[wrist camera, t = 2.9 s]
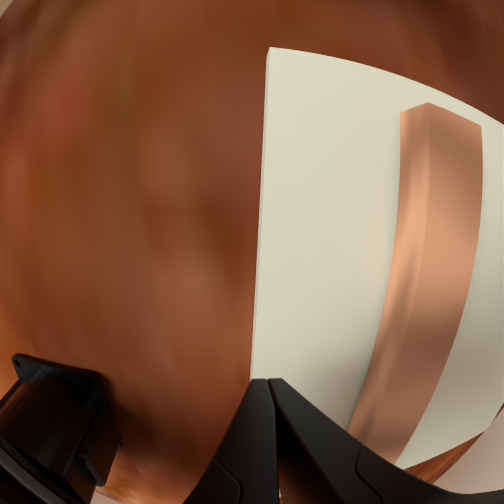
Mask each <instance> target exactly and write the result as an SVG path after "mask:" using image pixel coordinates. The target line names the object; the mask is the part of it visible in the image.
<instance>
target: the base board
mask: <svg viewBox="0 0 504 504" xmlns="http://www.w3.org/2000/svg"><path fill="white" fill-rule="evenodd" d="M427 102H429V103H432V104H434V105H437V106H439V107H442V108H444V109H446V110H449V111H451V112H453V113H455V114H458V115H460V116H462V117H464V118H466V119H468V120H471V121H473V122H475V123H477V124H479V125H481V130H482V148H483V187H482V205H481V217H480V227H479V235H478V243H477V249H476V256H475V261H474V267H473V272H472V277H471V282H470V286H469V291H468V295H467V299H466V303H465V307H464V310H463V314H462V317H461V321H460V324H459V327H458V331H457V334H456V337H455V340H454V343H453V346H452V349H451V351H450V354H449V357H448V360H447V362H446V365H445V367H444V370H443V372H442V375H441V377H440V380H439V382H438V384H437V387H436V389H435V391H434V393H433V396H432V398H431V400H430V402H429V404H428V406H427V408H426V410H425V412H424V414H423V416H422V418H421V420H420V422H419V424H418V426H417V427H416V429H415V431H414V433H413V435H412V436H411V438H410V440H409V442H408V443H407V445H406V447H405V448H404V450H403V452H402V453H401V455H400V456H399V458H398V460H397V461H396V463H395V464H394V465H395V466H397V467H399V468H401V469H402V470H403V469H406V468H408V467H411V466H414V465H416V464H419V463H421V462H424V461H426V460H428V459H431V458H433V457H435V456H437V455H440V454H442V453H444V452H446V451H448V450H450V449H452V448H454V447H456V446H458V445H460V444H462V443H464V442H466V441H468V440H470V439H471V438H473V437H475V436H477V435H478V434H480V433H482V432H484V431H485V430H487V429H488V428H489V426H490V424H491V423H492V421H493V420H494V418H495V416H496V415H497V413H498V411H499V410H500V408H501V406H502V404H503V403H504V125H503V124H501V123H500V122H498V121H496V120H495V119H493V118H491V117H489V116H488V115H486V114H484V113H482V112H481V111H479V110H477V109H475V108H473V107H471V106H469V105H467V104H465V103H463V102H461V101H459V100H457V99H455V98H453V97H451V96H449V95H447V94H445V93H442V92H440V91H438V90H435V89H433V88H431V87H428V86H426V85H423V84H421V83H418V82H416V81H413V80H410V79H408V78H405V77H402V76H399V75H396V74H393V73H390V72H387V71H384V70H381V69H377V68H374V67H371V66H367V65H363V64H360V63H356V62H352V61H348V60H344V59H339V58H335V57H330V56H325V55H320V54H315V53H309V52H303V51H296V50H289V49H281V48H272V47H270V49H269V52H268V55H267V62H266V85H265V107H264V129H263V150H262V170H261V191H260V210H259V230H258V249H257V267H256V286H255V304H254V322H253V339H252V356H251V373H250V381H251V380H252V379H254V378H265V379H266V380H267V379H268V378H282V379H284V380H285V381H286V382H287V383H288V384H290V385H291V386H292V387H293V388H294V389H295V390H297V391H298V392H299V393H300V394H301V395H302V396H304V397H305V398H306V399H307V400H308V401H310V402H311V403H312V404H313V405H314V406H316V407H317V408H318V409H319V410H320V411H322V412H323V413H324V414H325V415H327V416H328V417H329V418H330V419H332V420H333V421H334V422H335V423H337V424H338V425H339V426H340V427H342V428H343V429H344V430H345V431H347V429H348V427H349V424H350V422H351V419H352V416H353V413H354V411H355V408H356V405H357V402H358V399H359V396H360V393H361V390H362V387H363V384H364V380H365V377H366V374H367V370H368V367H369V364H370V360H371V356H372V353H373V349H374V345H375V341H376V337H377V333H378V329H379V325H380V320H381V316H382V311H383V306H384V301H385V296H386V291H387V285H388V280H389V274H390V268H391V261H392V254H393V247H394V239H395V230H396V220H397V209H398V196H399V177H400V112H402V111H405V110H408V109H410V108H413V107H416V106H418V105H421V104H424V103H427ZM279 497H281V494H280V490H279Z"/></svg>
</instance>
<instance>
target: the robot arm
mask: <svg viewBox="0 0 504 504" xmlns="http://www.w3.org/2000/svg"><path fill="white" fill-rule="evenodd" d="M12 362H13V365H14V368H15V370H16V373H17V375H18V378H19V380H18V381H17V382H16V383H15V384H14V385H13V386H12V387H11V389H10V390H9V391H8V392H7V393H6V394H5V395H4V397H3V398H2V399H1V400H0V504H90V502H91V499H92V496H93V493H94V490H95V487H96V486H99V487H102V486H104V485H105V484H106V481H107V478H108V475H109V472H110V469H111V466H112V463H113V460H114V457H115V454H116V451H118V452H119V451H121V449H122V446H123V444H122V441H121V435H120V432H119V429H118V426H117V424H116V421H115V418H114V415H113V412H112V410H111V409H110V407H109V405H108V402H107V399H106V396H105V392H104V389H103V386H102V382H101V379H100V377H99V376H98V375H97V374H96V373H94V372H92V371H87V370H82V369H78V368H73V367H68V366H64V365H60V364H56V363H52V362H48V361H44V360H40V359H36V358H33V357H29V356H26V355H23V354H19V353H16V354H15V355H14V356H13V357H12ZM91 380H92V381H93V382H92V381H91ZM279 490H280V494H281V498H282V501H283V504H504V489H502V490H497V491H490V492H484V493H476V494H460V493H454V492H450V491H447V490H444V489H442V488H440V487H437V486H435V485H433V484H431V483H429V482H427V481H424V480H422V479H420V478H418V477H416V476H414V475H412V474H410V473H408V472H406V471H404V470H402V469H401V468H399V467H397V466H395V465H394V464H392V463H390V462H388V461H387V460H385V459H384V458H382V457H381V456H379V455H378V454H376V453H375V452H374V451H372V450H371V449H369V448H368V447H367V446H365V445H362V443H361V442H360V441H359V440H357V439H356V438H355V437H353V436H352V435H351V434H349V433H348V432H347V431H345V430H344V429H343V428H342V427H340V426H339V425H338V424H337V423H335V422H334V421H333V420H332V419H330V418H329V417H328V416H327V415H325V414H324V413H323V412H322V411H320V410H319V409H318V408H317V407H316V406H314V405H313V404H312V403H311V402H310V401H308V400H307V399H306V398H305V397H304V396H302V395H301V394H300V393H299V392H298V391H297V390H295V389H294V388H293V387H292V386H291V385H290V384H288V383H287V382H286V381H285V380H284V379H282V378H268V379H267V380H266V379H265V378H254V379H252V380H251V381H250V383H249V385H248V387H247V389H246V392H245V394H244V396H243V398H242V400H241V402H240V404H239V406H238V408H237V410H236V412H235V414H234V416H233V418H232V421H231V423H230V425H229V427H228V429H227V431H226V433H225V434H224V436H223V438H222V440H221V442H220V444H219V446H218V448H217V450H216V452H215V454H214V456H213V459H212V460H211V461H210V463H209V465H208V467H207V469H206V470H205V472H204V474H203V475H202V477H201V479H200V480H199V482H198V484H197V485H196V487H195V488H194V489H193V491H192V492H191V493H190V495H189V496H188V497H187V499H186V500H185V501H184V502H183V504H280V500H279Z"/></svg>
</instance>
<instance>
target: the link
mask: <svg viewBox="0 0 504 504" xmlns="http://www.w3.org/2000/svg"><path fill="white" fill-rule="evenodd" d="M482 187H483V148H482V130H481V125H479V124H477V123H475V122H473V121H471V120H468V119H466V118H464V117H462V116H460V115H458V114H455V113H453V112H451V111H449V110H446V109H444V108H442V107H439V106H437V105H434V104H432V103H429V102H427V103H424V104H421V105H418V106H416V107H413V108H410V109H408V110H405V111H402V112H400V177H399V196H398V209H397V220H396V230H395V239H394V247H393V254H392V261H391V268H390V274H389V280H388V285H387V291H386V296H385V301H384V306H383V311H382V316H381V320H380V325H379V329H378V333H377V337H376V341H375V345H374V349H373V353H372V356H371V360H370V364H369V367H368V370H367V374H366V377H365V380H364V384H363V387H362V390H361V393H360V396H359V399H358V402H357V405H356V408H355V411H354V413H353V416H352V419H351V422H350V424H349V427H348V429H347V432H348V433H349V434H351V435H352V436H353V437H355V438H356V439H357V440H359V441H360V442H361V443H362V445H365V446H367V447H368V448H369V449H371V450H372V451H374V452H375V453H376V454H378V455H379V456H381V457H382V458H384V459H385V460H387V461H388V462H390V463H392V464H395V463H396V461H397V460H398V458H399V456H400V455H401V453H402V452H403V450H404V448H405V447H406V445H407V443H408V442H409V440H410V438H411V436H412V435H413V433H414V431H415V429H416V427H417V426H418V424H419V422H420V420H421V418H422V416H423V414H424V412H425V410H426V408H427V406H428V404H429V402H430V400H431V398H432V396H433V393H434V391H435V389H436V387H437V384H438V382H439V380H440V377H441V375H442V372H443V370H444V367H445V365H446V362H447V360H448V357H449V354H450V351H451V349H452V346H453V343H454V340H455V337H456V334H457V331H458V327H459V324H460V321H461V317H462V314H463V310H464V307H465V303H466V299H467V295H468V291H469V286H470V282H471V277H472V272H473V267H474V261H475V256H476V249H477V243H478V235H479V227H480V217H481V205H482Z"/></svg>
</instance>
